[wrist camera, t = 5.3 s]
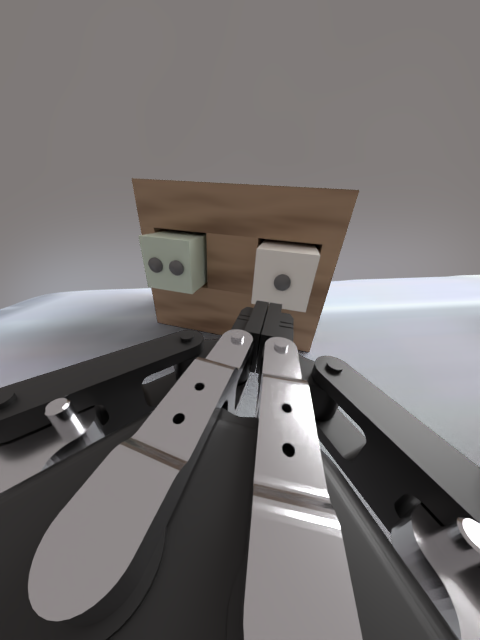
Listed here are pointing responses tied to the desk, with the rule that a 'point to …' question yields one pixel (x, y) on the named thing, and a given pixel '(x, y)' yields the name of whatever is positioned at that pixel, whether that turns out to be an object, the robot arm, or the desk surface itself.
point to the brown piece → (243, 244)
